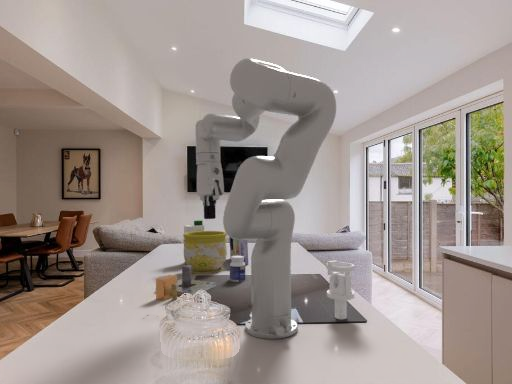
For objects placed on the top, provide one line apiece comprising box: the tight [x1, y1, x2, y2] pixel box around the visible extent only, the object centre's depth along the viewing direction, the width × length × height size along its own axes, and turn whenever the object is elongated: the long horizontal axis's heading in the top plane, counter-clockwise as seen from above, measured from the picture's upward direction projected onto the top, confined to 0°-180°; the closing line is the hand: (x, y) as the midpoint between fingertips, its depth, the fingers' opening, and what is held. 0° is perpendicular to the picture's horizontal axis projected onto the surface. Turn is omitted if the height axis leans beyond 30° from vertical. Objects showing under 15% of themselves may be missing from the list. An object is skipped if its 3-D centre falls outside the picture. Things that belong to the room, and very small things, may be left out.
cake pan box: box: [229, 237, 249, 265], centre depth 174 cm, size 19×5×18 cm, turn 17°
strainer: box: [326, 259, 355, 320], centre depth 94 cm, size 7×7×15 cm
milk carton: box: [183, 220, 205, 264], centre depth 170 cm, size 9×9×20 cm
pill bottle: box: [229, 256, 246, 283], centre depth 130 cm, size 6×6×10 cm
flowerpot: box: [182, 230, 228, 275], centre depth 150 cm, size 18×18×16 cm
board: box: [171, 264, 192, 301], centre depth 118 cm, size 26×26×9 cm
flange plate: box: [155, 274, 217, 301], centre depth 115 cm, size 20×14×6 cm
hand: (209, 218), depth 112 cm, fingers closed
